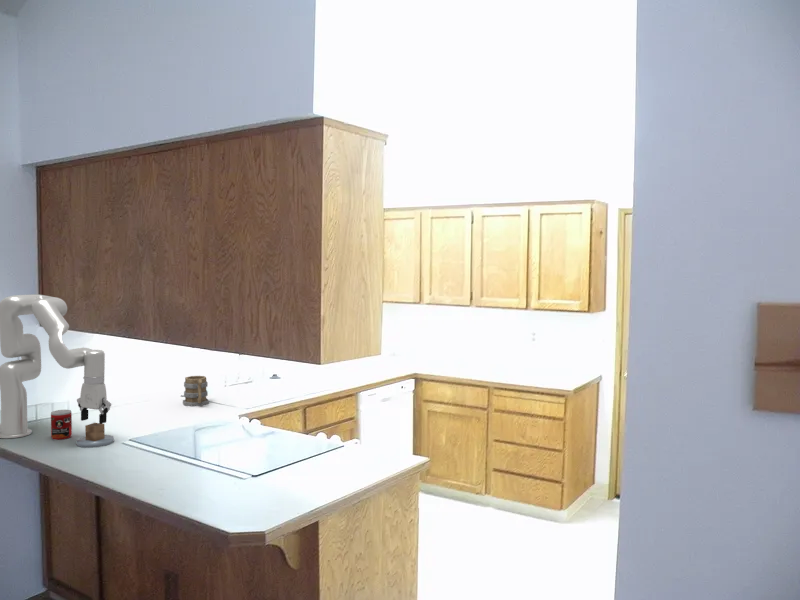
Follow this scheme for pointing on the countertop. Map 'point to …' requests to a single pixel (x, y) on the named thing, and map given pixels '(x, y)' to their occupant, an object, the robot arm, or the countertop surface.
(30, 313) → the robot arm
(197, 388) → the tankard
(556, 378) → the countertop surface
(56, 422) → the canned food
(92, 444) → the dish
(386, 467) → the countertop surface
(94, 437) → the walnut block
